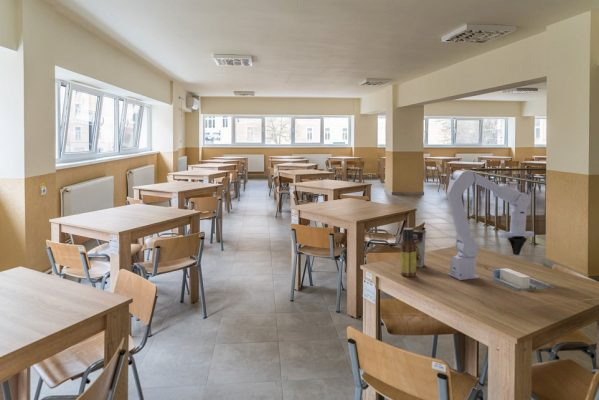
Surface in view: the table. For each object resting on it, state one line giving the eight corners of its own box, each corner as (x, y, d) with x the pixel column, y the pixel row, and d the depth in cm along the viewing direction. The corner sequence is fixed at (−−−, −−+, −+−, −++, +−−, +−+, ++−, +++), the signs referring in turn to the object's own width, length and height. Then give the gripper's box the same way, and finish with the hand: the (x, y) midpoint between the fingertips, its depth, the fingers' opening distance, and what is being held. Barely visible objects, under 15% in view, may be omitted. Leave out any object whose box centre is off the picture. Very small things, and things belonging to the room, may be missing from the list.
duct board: (516, 292, 168) (517, 280, 167) (488, 280, 183) (488, 269, 183) (556, 288, 172) (557, 277, 172) (525, 276, 188) (526, 266, 187)
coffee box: (401, 265, 205) (402, 230, 203) (404, 262, 211) (405, 228, 209) (421, 268, 201) (422, 232, 199) (424, 264, 207) (426, 229, 205)
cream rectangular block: (521, 288, 171) (522, 277, 170) (499, 279, 182) (500, 268, 182) (529, 288, 172) (530, 276, 171) (507, 279, 183) (507, 268, 183)
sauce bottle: (414, 273, 193) (416, 227, 190) (417, 277, 187) (418, 230, 184) (399, 272, 193) (400, 226, 191) (401, 277, 187) (402, 229, 185)
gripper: (510, 224, 180) (508, 257, 181) (540, 222, 183) (538, 255, 185) (498, 221, 187) (496, 253, 188) (527, 220, 190) (525, 251, 192)
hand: (516, 254), depth 187 cm, fingers closed
